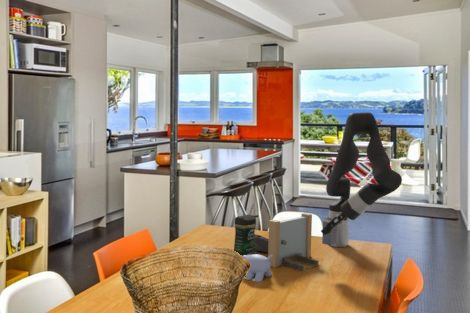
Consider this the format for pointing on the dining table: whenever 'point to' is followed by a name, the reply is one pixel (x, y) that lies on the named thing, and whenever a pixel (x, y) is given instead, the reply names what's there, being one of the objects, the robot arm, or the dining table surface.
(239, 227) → the coffee jar
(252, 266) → the hippopotamus toy
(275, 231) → the door
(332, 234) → the bar
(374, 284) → the dining table surface
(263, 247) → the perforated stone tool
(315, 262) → the keeper
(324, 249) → the dining table surface
